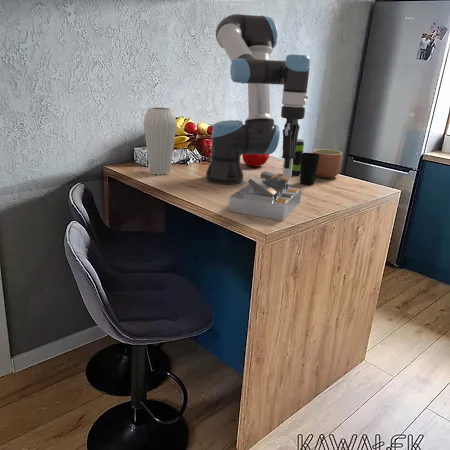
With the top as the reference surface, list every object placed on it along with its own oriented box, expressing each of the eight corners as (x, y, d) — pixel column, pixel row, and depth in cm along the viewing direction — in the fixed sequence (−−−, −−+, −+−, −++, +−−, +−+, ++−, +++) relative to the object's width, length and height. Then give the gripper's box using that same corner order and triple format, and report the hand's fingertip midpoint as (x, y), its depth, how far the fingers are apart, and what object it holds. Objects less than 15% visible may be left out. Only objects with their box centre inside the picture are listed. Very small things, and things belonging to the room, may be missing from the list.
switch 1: (254, 190, 151) (252, 185, 151) (258, 187, 155) (256, 182, 154) (278, 181, 147) (276, 175, 147) (281, 179, 150) (279, 173, 150)
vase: (154, 168, 198) (153, 105, 189) (181, 172, 194) (182, 108, 185) (137, 174, 187) (136, 108, 178) (166, 178, 182) (167, 111, 173)
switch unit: (228, 211, 147) (230, 192, 145) (251, 195, 166) (252, 177, 164) (282, 221, 141) (284, 200, 139) (300, 202, 160) (302, 184, 158)
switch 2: (247, 182, 144) (250, 177, 143) (251, 180, 147) (254, 175, 146) (270, 199, 143) (273, 194, 142) (273, 196, 146) (277, 191, 145)
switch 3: (260, 177, 157) (261, 172, 156) (263, 175, 160) (264, 170, 159) (284, 185, 154) (286, 180, 154) (287, 183, 157) (288, 177, 157)
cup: (316, 187, 182) (319, 157, 178) (297, 185, 183) (300, 155, 179) (316, 182, 189) (320, 153, 185) (297, 180, 190) (301, 151, 186)
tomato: (243, 162, 220) (244, 139, 216) (268, 164, 218) (270, 141, 215) (240, 168, 207) (241, 144, 203) (267, 170, 206) (269, 146, 202)
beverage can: (296, 172, 204) (300, 138, 199) (303, 175, 199) (306, 141, 194) (283, 172, 202) (287, 138, 197) (290, 176, 197) (293, 141, 192)
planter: (307, 177, 196) (310, 152, 192) (313, 171, 207) (316, 147, 203) (337, 181, 192) (340, 155, 188) (341, 175, 203) (344, 151, 199)
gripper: (300, 108, 140) (292, 182, 148) (309, 105, 151) (302, 174, 159) (276, 106, 143) (270, 179, 151) (287, 103, 154) (281, 172, 162)
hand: (286, 177), depth 155 cm, fingers closed
